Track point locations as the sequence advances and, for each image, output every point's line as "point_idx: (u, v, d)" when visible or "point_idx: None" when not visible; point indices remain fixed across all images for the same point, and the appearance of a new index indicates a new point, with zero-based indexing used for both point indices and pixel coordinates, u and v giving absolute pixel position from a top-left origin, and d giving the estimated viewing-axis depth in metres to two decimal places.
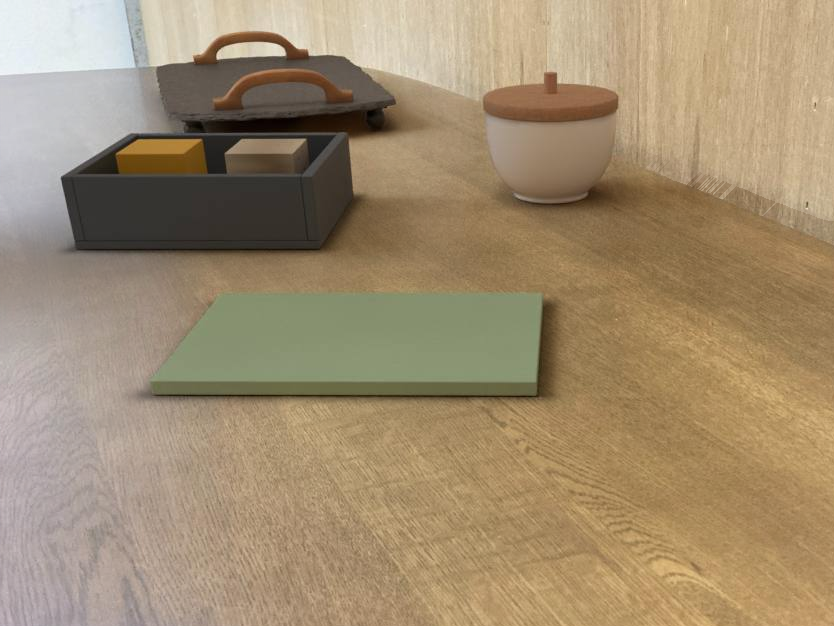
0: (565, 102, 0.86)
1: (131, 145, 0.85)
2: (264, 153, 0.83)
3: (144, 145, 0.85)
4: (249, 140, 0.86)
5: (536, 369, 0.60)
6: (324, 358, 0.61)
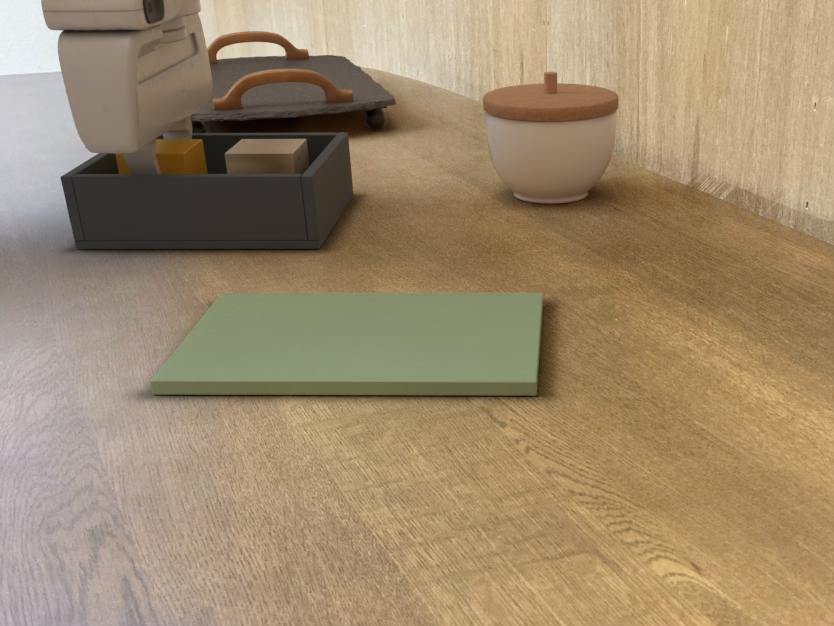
0: (565, 102, 0.86)
1: None
2: (264, 153, 0.83)
3: None
4: (249, 140, 0.86)
5: (536, 369, 0.60)
6: (324, 358, 0.61)
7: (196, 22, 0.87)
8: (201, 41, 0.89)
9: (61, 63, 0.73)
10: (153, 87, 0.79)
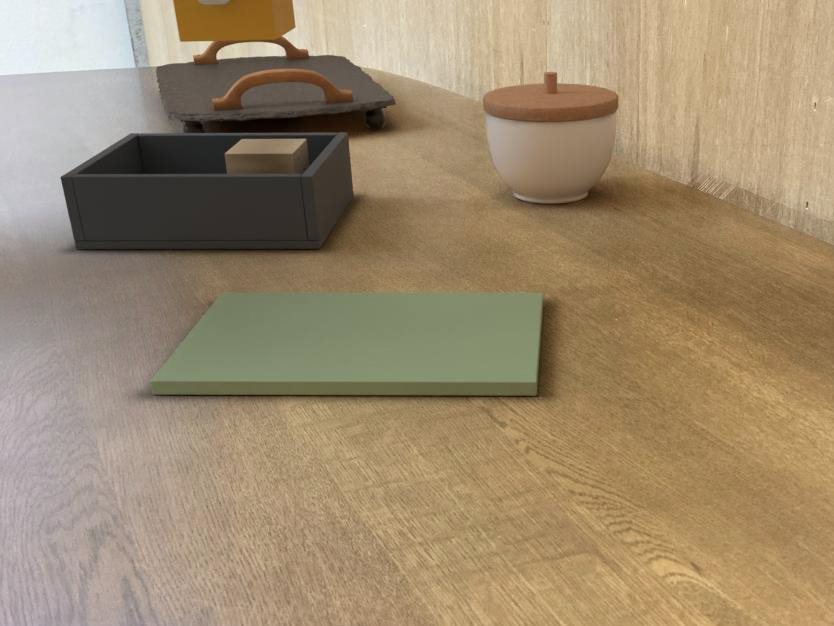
0: (565, 102, 0.86)
1: None
2: (264, 153, 0.83)
3: None
4: (249, 140, 0.86)
5: (536, 369, 0.60)
6: (324, 358, 0.61)
7: None
8: None
9: None
10: None
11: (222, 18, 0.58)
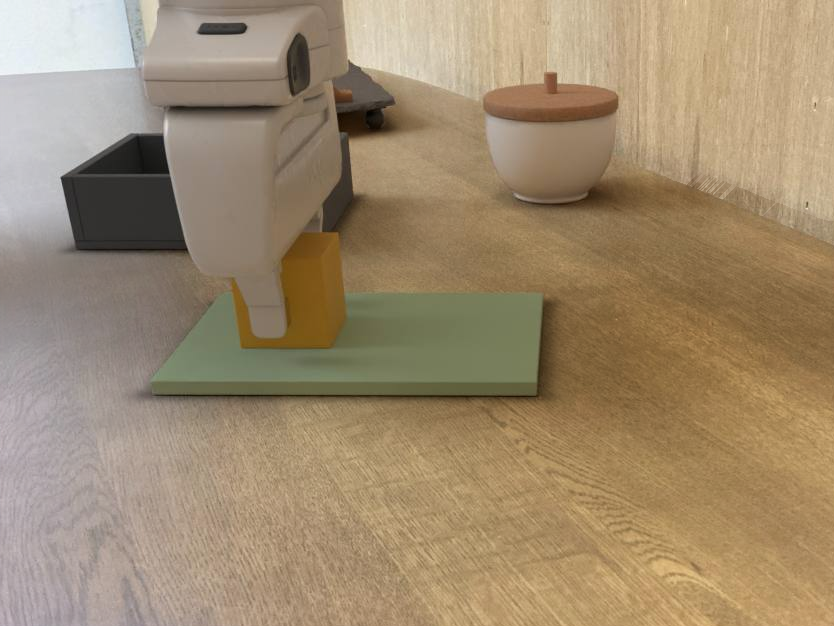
0: (565, 102, 0.86)
1: None
2: None
3: None
4: None
5: (536, 369, 0.60)
6: (324, 358, 0.61)
7: None
8: (331, 103, 0.66)
9: (169, 154, 0.51)
10: (288, 178, 0.56)
11: None
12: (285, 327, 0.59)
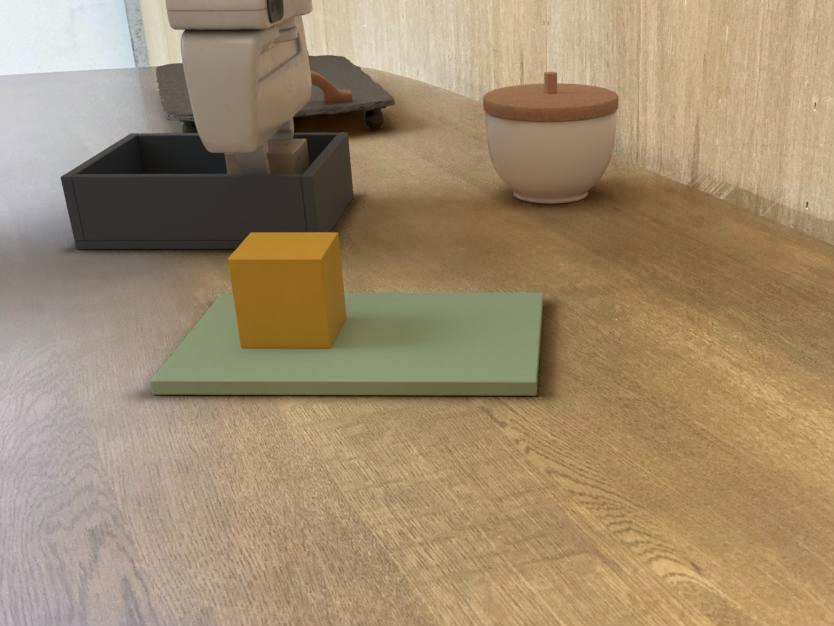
0: (565, 102, 0.86)
1: (245, 243, 0.62)
2: None
3: (263, 243, 0.62)
4: None
5: (536, 369, 0.60)
6: (324, 358, 0.61)
7: (300, 21, 0.87)
8: (303, 40, 0.88)
9: (184, 62, 0.73)
10: (268, 86, 0.79)
11: (281, 330, 0.62)
12: None
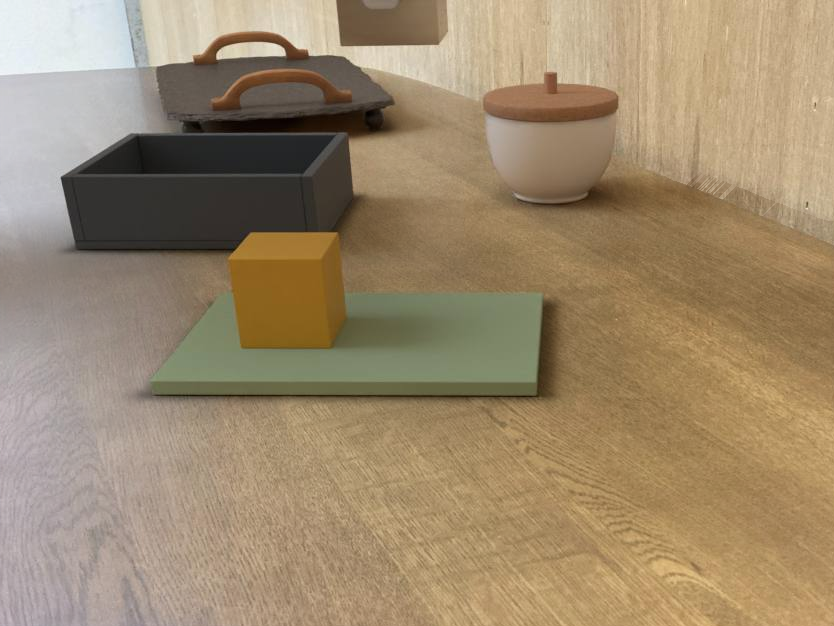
0: (565, 102, 0.86)
1: (245, 243, 0.62)
2: None
3: (263, 243, 0.62)
4: None
5: (536, 369, 0.60)
6: (324, 358, 0.61)
7: None
8: None
9: None
10: None
11: (281, 330, 0.62)
12: None
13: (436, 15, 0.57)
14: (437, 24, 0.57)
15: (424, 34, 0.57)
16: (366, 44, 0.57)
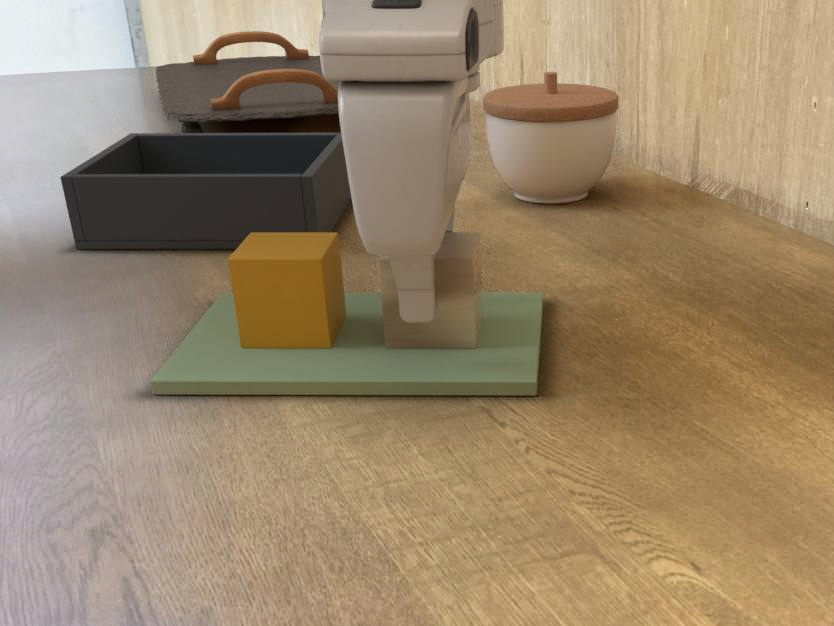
0: (565, 102, 0.86)
1: (245, 243, 0.62)
2: None
3: (263, 243, 0.62)
4: None
5: (536, 369, 0.60)
6: (324, 358, 0.61)
7: None
8: None
9: (344, 130, 0.50)
10: None
11: (281, 330, 0.62)
12: (434, 311, 0.58)
13: (474, 324, 0.62)
14: (475, 331, 0.62)
15: (463, 340, 0.62)
16: (409, 347, 0.62)
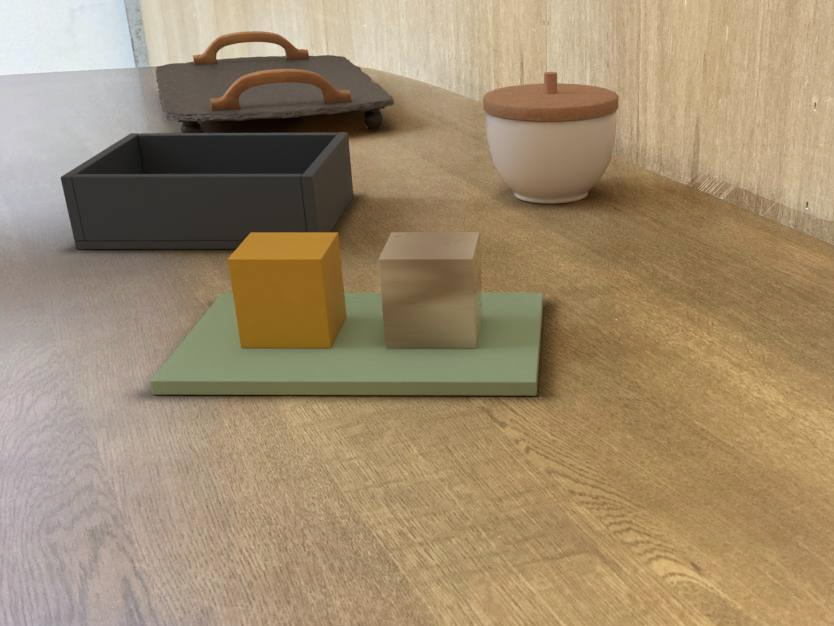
0: (565, 102, 0.86)
1: (245, 243, 0.62)
2: (433, 258, 0.60)
3: (263, 243, 0.62)
4: (403, 234, 0.64)
5: (536, 369, 0.60)
6: (324, 358, 0.61)
7: None
8: None
9: None
10: None
11: (281, 330, 0.62)
12: None
13: (474, 324, 0.62)
14: (475, 331, 0.62)
15: (463, 340, 0.62)
16: (409, 347, 0.62)
